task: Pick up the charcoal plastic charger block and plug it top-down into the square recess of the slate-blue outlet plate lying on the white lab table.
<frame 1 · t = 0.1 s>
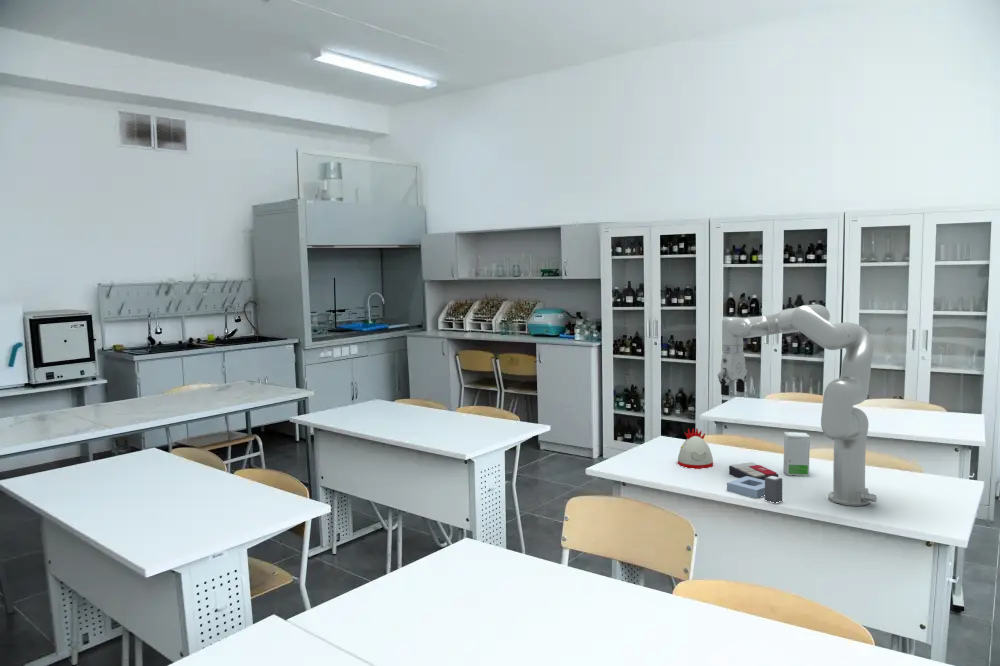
hand: (732, 393, 264), 31 cm above the table, tool pointing down, fingers open, 9 cm apart
charger: (773, 501, 232), on the table
outlet plate: (751, 491, 243), on the table
calculator: (753, 479, 259), on the table
skincare box: (796, 474, 262), on the table
kitchen timer: (695, 464, 279), on the table
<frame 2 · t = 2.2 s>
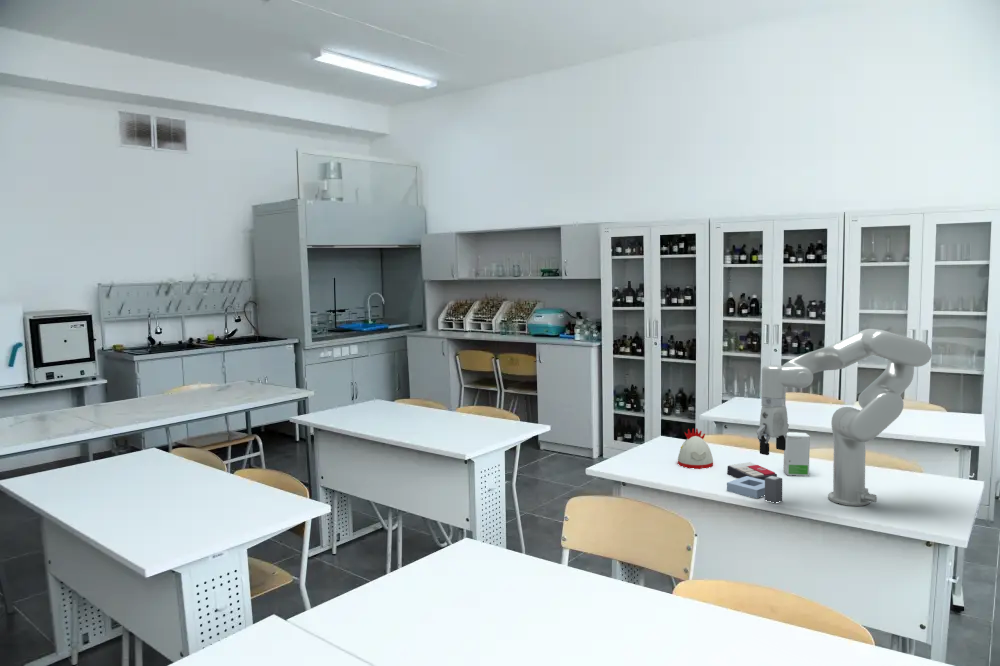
hand: (772, 451, 230), 17 cm above the table, tool pointing down, fingers open, 9 cm apart
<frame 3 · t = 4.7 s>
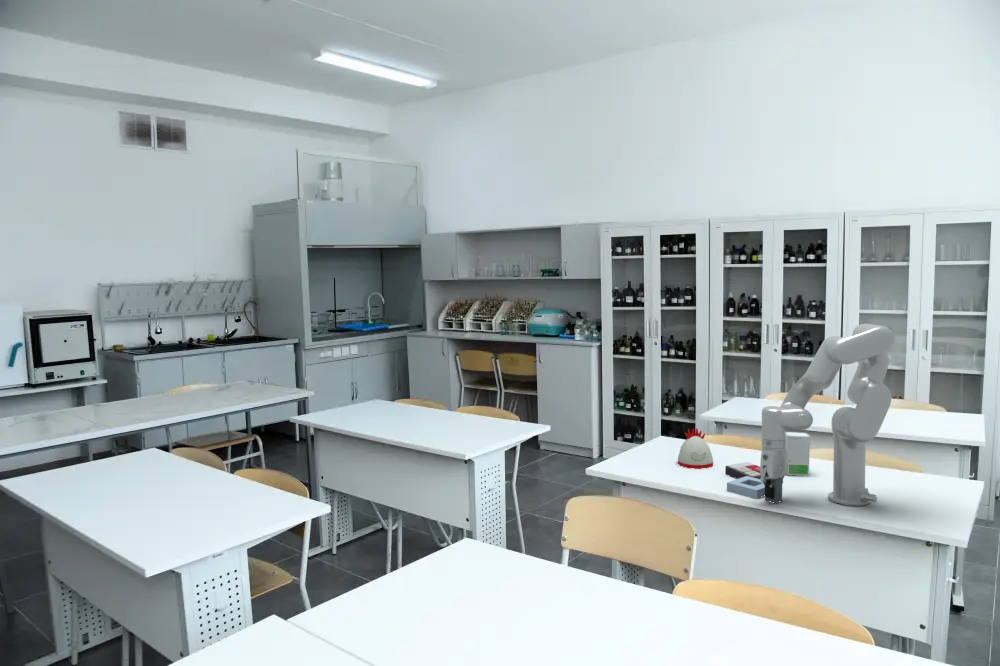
hand: (773, 495, 231), 2 cm above the table, tool pointing down, fingers closed on charger, 4 cm apart
charger: (773, 501, 232), on the table, touching gripper
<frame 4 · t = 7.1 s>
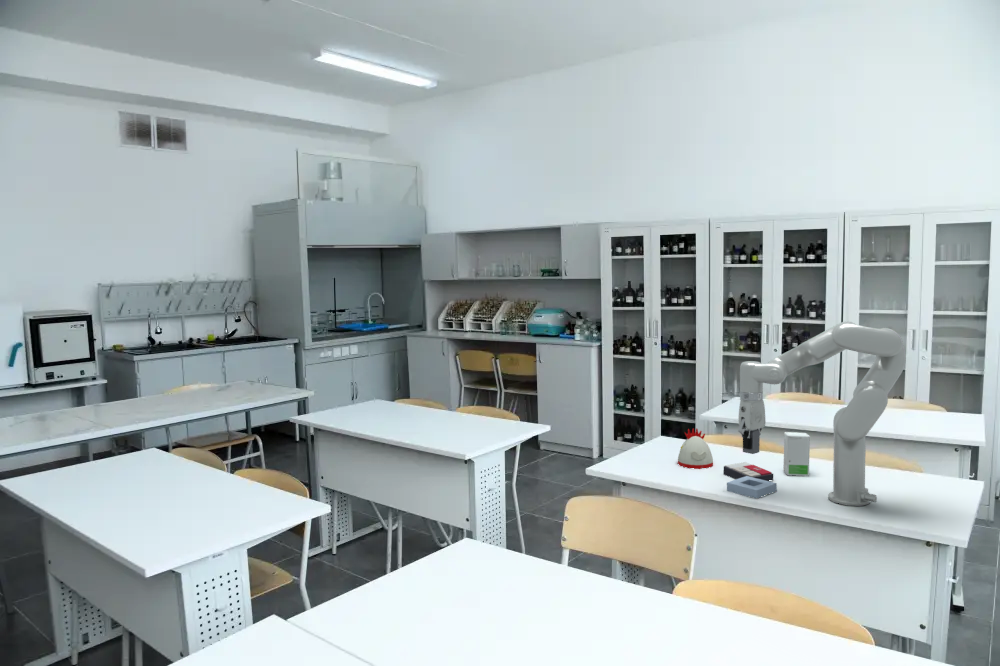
hand: (751, 447, 242), 16 cm above the table, tool pointing down, fingers closed on charger, 4 cm apart
charger: (751, 452, 242), point 14 cm above the table, touching gripper
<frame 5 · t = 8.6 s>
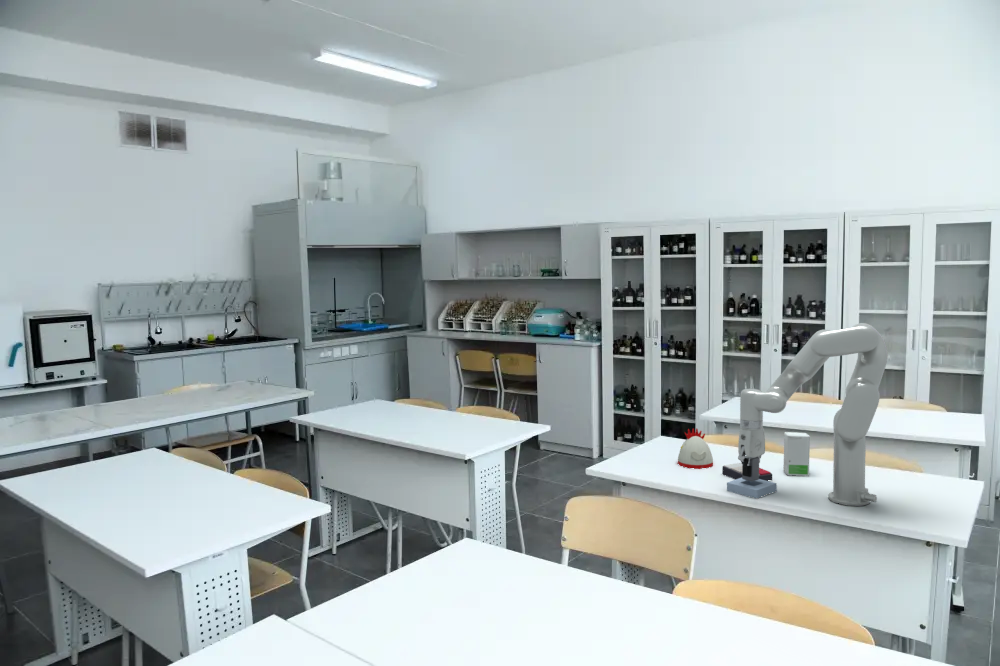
hand: (750, 474, 242), 6 cm above the table, tool pointing down, fingers closed on charger, 4 cm apart
charger: (750, 479, 243), point 4 cm above the table, touching gripper
when the fingers open (4 cm above the table, at t = 9.8 s): charger drops 2 cm, resting on outlet plate.
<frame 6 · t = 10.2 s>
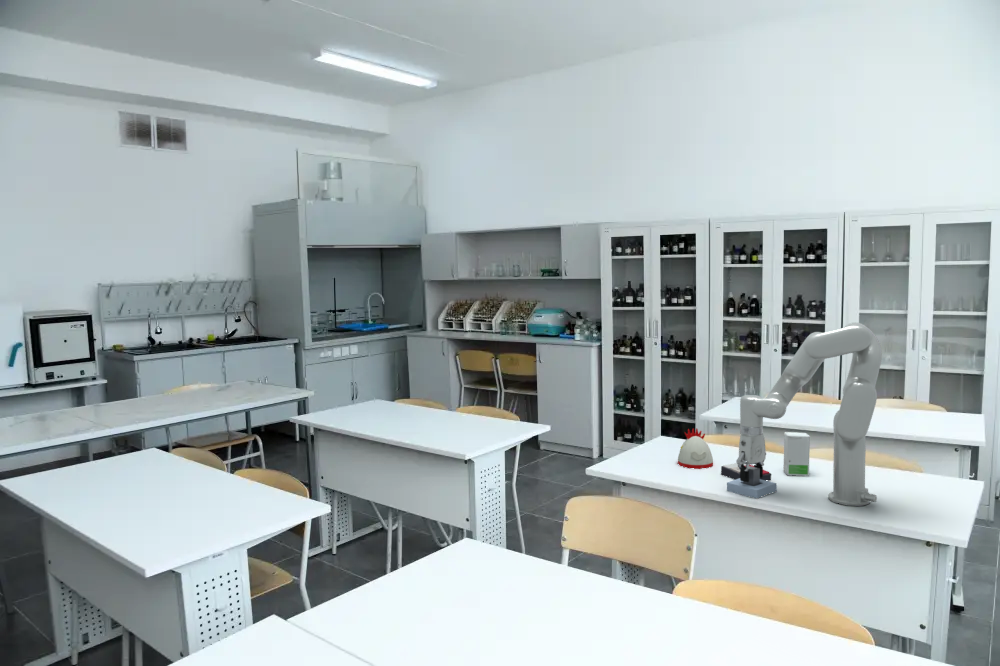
hand: (751, 478, 242), 5 cm above the table, tool pointing down, fingers open, 7 cm apart
charger: (751, 490, 243), resting on outlet plate
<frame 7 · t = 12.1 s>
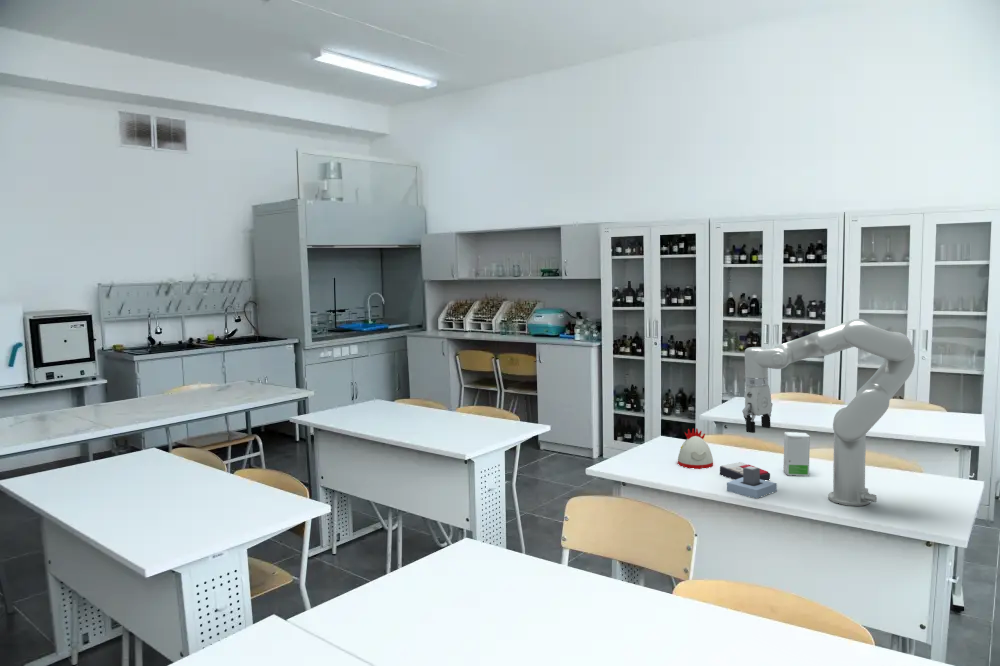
hand: (758, 429, 242), 22 cm above the table, tool pointing down, fingers open, 9 cm apart
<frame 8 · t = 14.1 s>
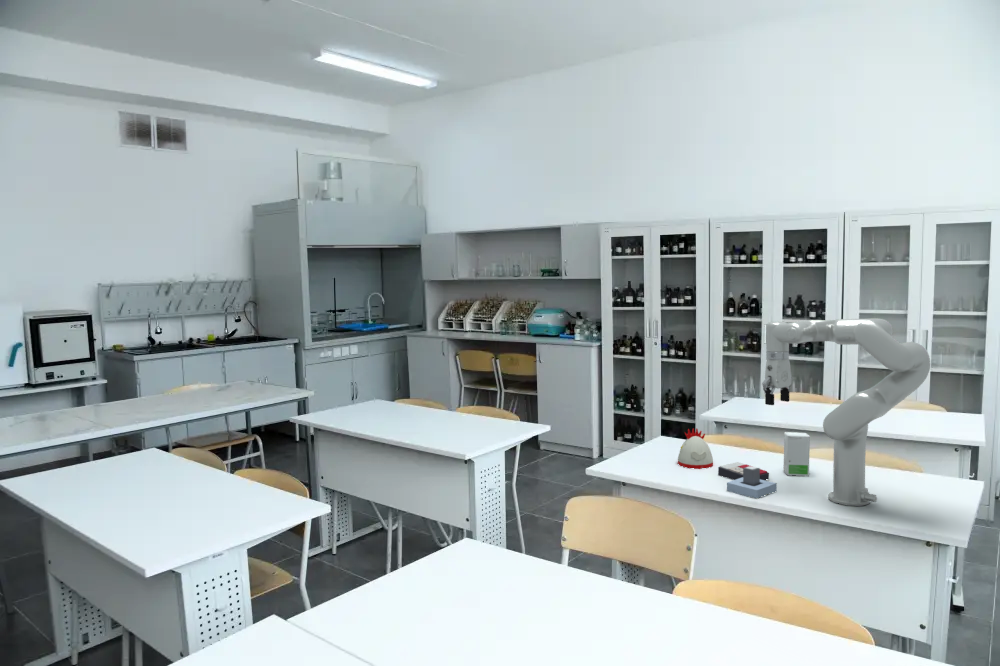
hand: (777, 402, 246), 30 cm above the table, tool pointing down, fingers open, 9 cm apart
at the end: charger 0.0 cm off-centre on the outlet plate, point 0.3 cm above the outlet plate's base; charger tilted 0°; the gripper is holding nothing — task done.
